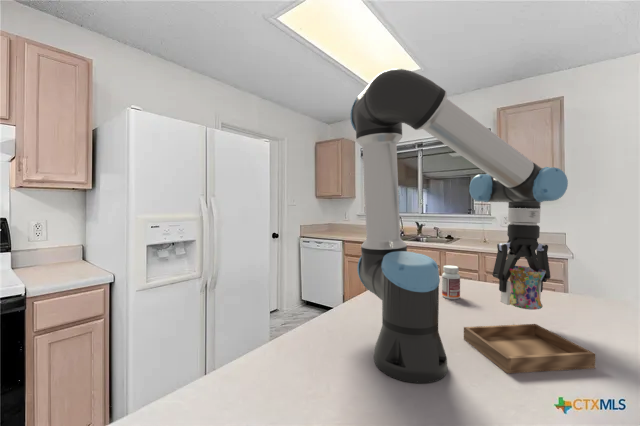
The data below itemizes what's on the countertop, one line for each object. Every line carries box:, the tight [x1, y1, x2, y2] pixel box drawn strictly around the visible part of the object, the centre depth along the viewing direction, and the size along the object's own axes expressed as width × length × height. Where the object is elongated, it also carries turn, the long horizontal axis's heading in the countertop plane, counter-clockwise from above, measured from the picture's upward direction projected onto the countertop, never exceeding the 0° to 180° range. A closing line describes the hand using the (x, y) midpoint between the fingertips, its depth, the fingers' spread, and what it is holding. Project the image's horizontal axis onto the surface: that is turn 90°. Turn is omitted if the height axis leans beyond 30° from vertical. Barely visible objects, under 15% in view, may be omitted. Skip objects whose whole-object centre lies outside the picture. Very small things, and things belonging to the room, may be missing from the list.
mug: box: [508, 265, 546, 310], centre depth 85 cm, size 12×9×11 cm
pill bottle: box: [441, 264, 461, 300], centre depth 110 cm, size 6×6×11 cm
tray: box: [463, 323, 596, 374], centre depth 69 cm, size 20×16×3 cm
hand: (520, 303), depth 85 cm, fingers closed on mug, 8 cm apart
